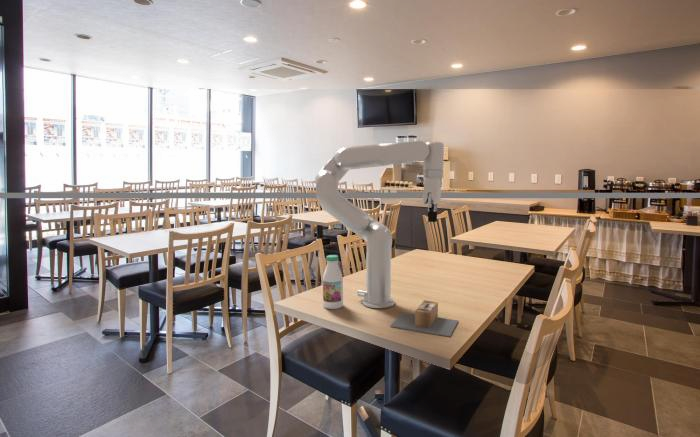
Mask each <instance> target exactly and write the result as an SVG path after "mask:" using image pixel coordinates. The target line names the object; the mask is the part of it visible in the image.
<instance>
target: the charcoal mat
mask: <svg viewBox="0 0 700 437" xmlns="http://www.w3.org/2000/svg"><path fill="white" fill-rule="evenodd" d="M458 323H459V320H457V319H451V318H446V317H445V318H444V317H439V316H437V317H436V319H435V320H434V322H433V323H432V325H431V326H430V328H427V327H421V326H415V313H413V312H412V313H411V312H405V311H403V312H401V314H399V316H397V318H396V319H395V320H394V321H393V322H392V323H391V324H390V326H389V327H390V328H396V329H400V330H405V331H412V332H419V333H424V334H428V335H437V336H439V337H440V336H441V337H447V338H451V336H452V334H453V332H454V331H455V328H456V327H457V324H458Z"/></svg>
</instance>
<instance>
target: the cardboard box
mask: <svg viewBox="0 0 700 437" xmlns="http://www.w3.org/2000/svg"><path fill="white" fill-rule="evenodd" d="M438 312H439V302H438V301H433V300H426V299H425V300H423V301H422V303H420V305H419V306H418V307H417V308H416V310H415V311H414V314H415V326H421V327H427V328H430V326H431V325H432V323H433V322H434V320H435V319H436V317H439V316H438V315H439V313H438Z"/></svg>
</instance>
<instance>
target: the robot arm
mask: <svg viewBox="0 0 700 437" xmlns="http://www.w3.org/2000/svg"><path fill="white" fill-rule="evenodd" d="M444 150H445V149H444V143H443V142H441V141H429V142H425V141H422V140H413V141H402V142H392V143H391V142H389V143H384V142H383V143H374V144H373V143H372V144H363V145H362V144H361V145H352V146H344V147H341V148H339V149H338V150H336V152H335V153H334V154H333V155H332V156H331V158H330V159H329V160H328V161H327V163H325V165H324V166H323V167H322V168H321V169H320V171H318V173H317V174H316V175H315V179H314V183H315V196H316V200H317V202H318V205H320V207H321V208H322V209H323V210H324V211H325V212H326V213H327V214H329V215H330V216H331V217H333V218H334V219H335V220H336V221H338V222H339V223H340V224H341V225H343V226H344V227H345V228H346V229H347V230H348V231H351V232H352V233H353V234H354V233H355V235H357V236H358V237H360V238H361V239H362V240H364V241H365V242H366V254H365V255H366V258H365V259H366V261H365V262H366V263H365V265H366V268H365V269H366V272H365V274H366V276H365V277H366V278H365V279H366V285H365V286H366V287H365V288H366V290H362V289H358V290H357V296H358V297H361V298H363V299H362V305H364V307H367V308H371V309H388V308H391V307H392V306H394V305H395V299H394V298H393V297H392V296H391V292H392V291H391V290H392V289H391V279H392V278H391V275H392V274H391V272H392V269H391V267H392V264H391V260H392V258H391V257H392V248H393V247H392V246H393V235H392V232H391V230H390V228H389V227H387V226H386V225H385V224H382V222H380V221H378V220H377V219H375V218H374V217H373V216H372V215H370V214H369V213H367V212H366V211H365V210H363V209H362V208H361V207H359V206H357V205H355V204H354V203H352V202H351V201H350V200H348V199H347V198H346V197H345V196H343V195H342V194H341V193H340V191H339V183H340V181H341V180H342V179H343V178H344V177H345V175H346V174H347V173H348V172H349V170H357V169H358V170H359V169H367V168H376V167H377V168H379V167H386V166H391V165H396V164H397V165H399V164H407V163H415V162H418V163H419V162H422V161H423V170H422V171H423V172H422V173H423V174H422V175H423V177H422V178H423V179H424V182H423V192H422V203H423V204H424V205H426V204H427V222H429V223H437V221H438V204H440V203H441V200H442V199H441V198H442V196H441V195H442V184H441V183H442V182H441V180H442V179H444Z"/></svg>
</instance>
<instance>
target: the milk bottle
mask: <svg viewBox="0 0 700 437" xmlns="http://www.w3.org/2000/svg"><path fill="white" fill-rule="evenodd" d="M326 262H327V263H326V266H325V270H324V272H323V275H322V300H323V302H322V303H323V307H324V308H325V309H329V310H337V309H341V308H343V305H344V283H343V282H344V281H343V274H342V271H341V269H340V266H339V255H338V254H329V255H326Z"/></svg>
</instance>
